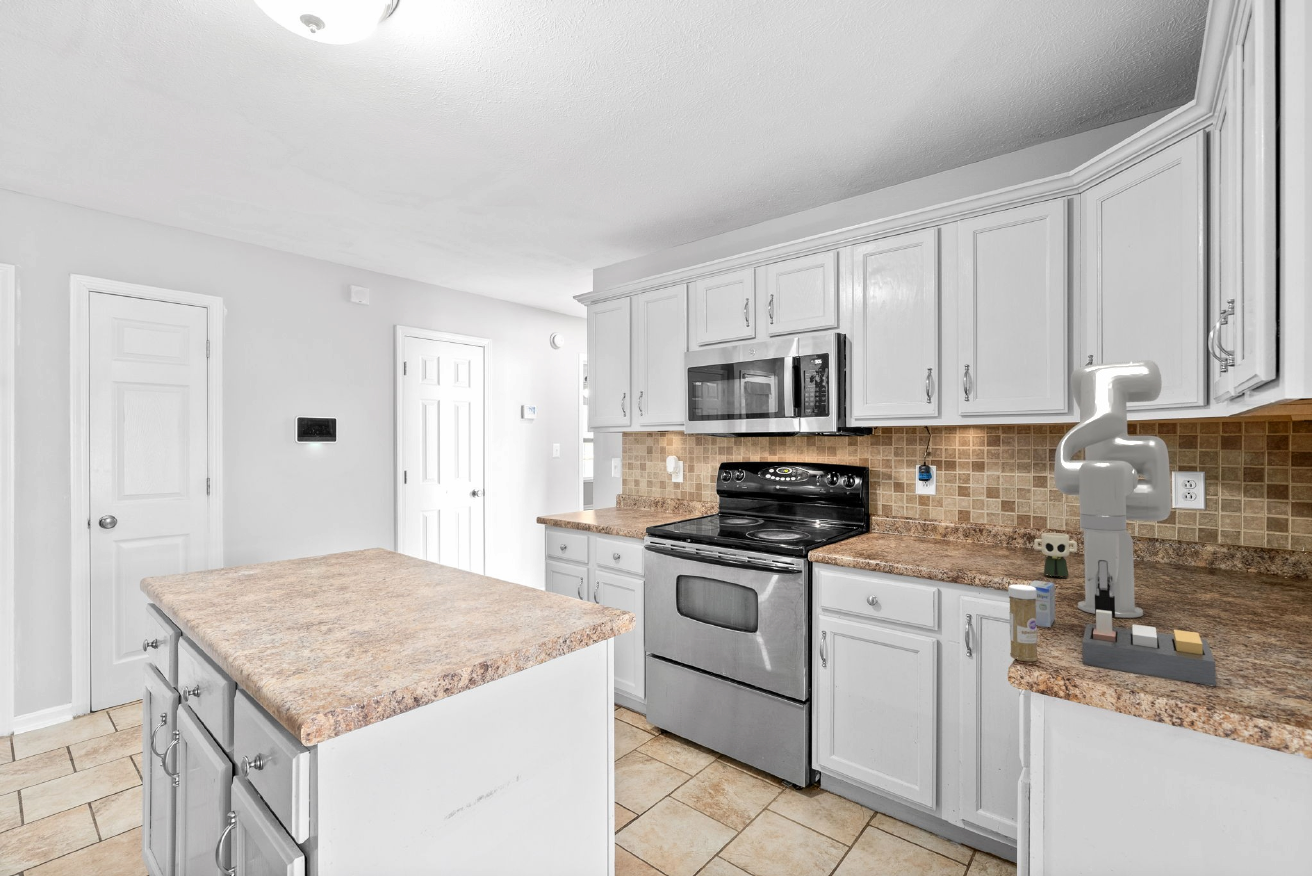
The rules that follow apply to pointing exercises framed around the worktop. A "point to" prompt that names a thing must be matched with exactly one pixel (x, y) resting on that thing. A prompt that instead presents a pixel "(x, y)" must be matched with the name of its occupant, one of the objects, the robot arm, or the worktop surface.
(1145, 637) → the white button
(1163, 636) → the control panel
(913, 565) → the worktop surface
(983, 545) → the worktop surface
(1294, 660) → the worktop surface
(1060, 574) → the character mug
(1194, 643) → the amber button
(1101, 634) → the slider lever
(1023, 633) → the sprinkles bottle
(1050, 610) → the medicine box
